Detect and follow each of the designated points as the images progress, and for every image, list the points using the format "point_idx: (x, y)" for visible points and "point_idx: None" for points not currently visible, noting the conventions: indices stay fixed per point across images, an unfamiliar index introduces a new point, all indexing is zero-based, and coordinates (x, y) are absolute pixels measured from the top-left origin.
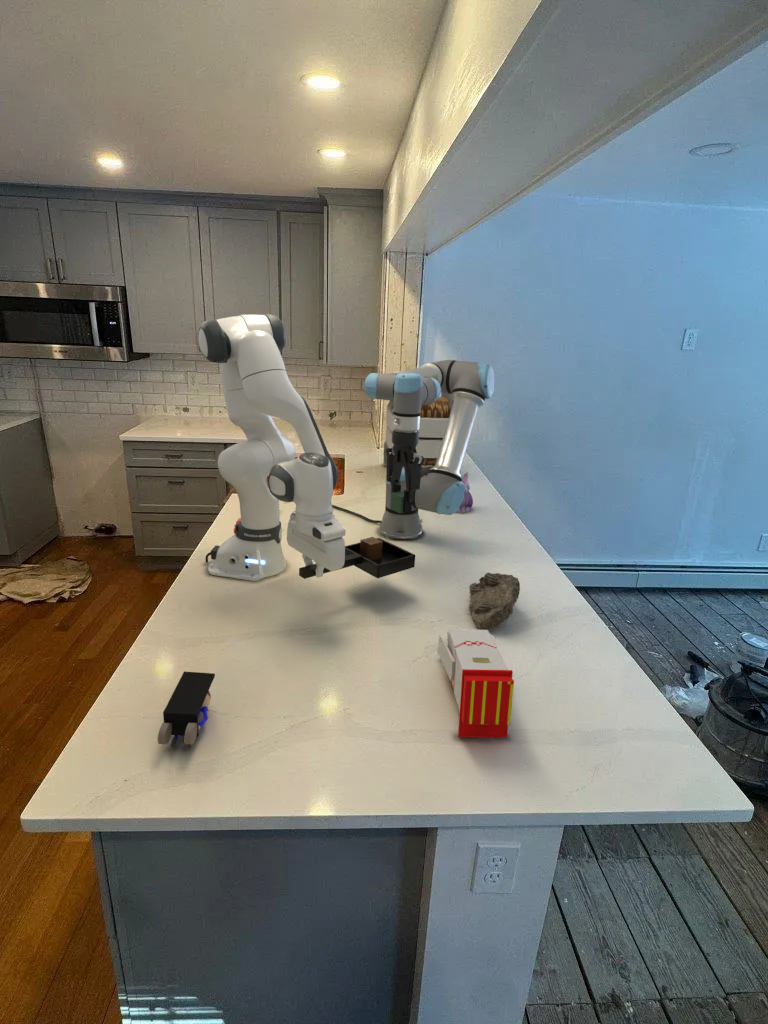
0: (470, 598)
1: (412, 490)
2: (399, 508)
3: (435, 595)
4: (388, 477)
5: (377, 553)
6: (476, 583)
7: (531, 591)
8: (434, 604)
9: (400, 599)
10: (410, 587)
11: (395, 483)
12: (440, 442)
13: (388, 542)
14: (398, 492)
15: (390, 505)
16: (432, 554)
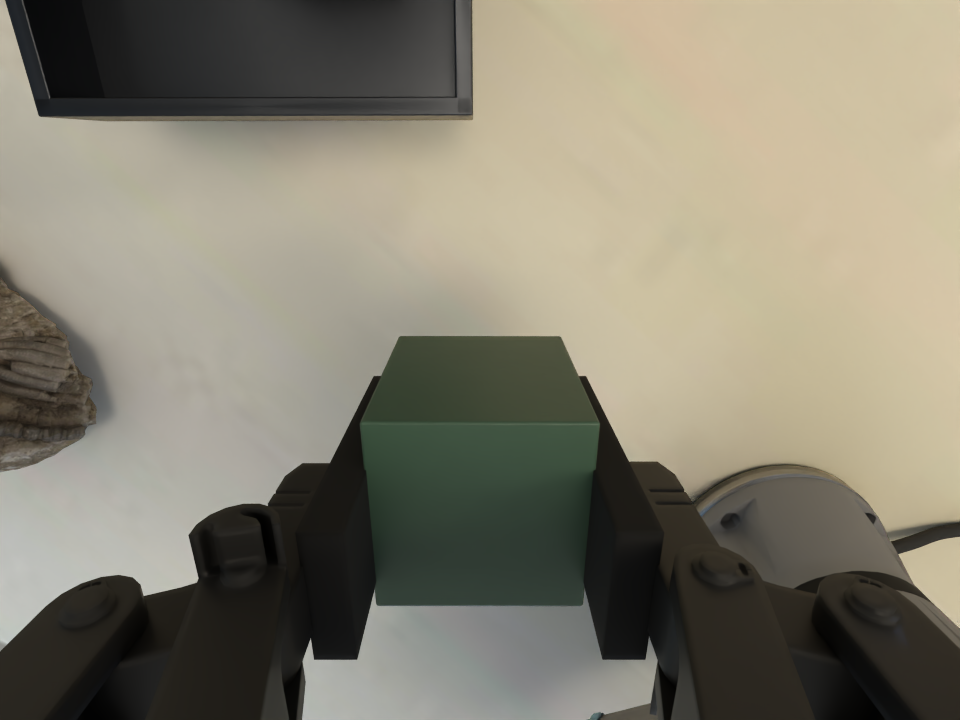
0: (42, 316)
1: (104, 580)
2: (408, 354)
3: (179, 238)
4: (886, 651)
5: None
6: (30, 382)
7: (52, 556)
8: (107, 171)
9: None
10: (298, 197)
11: (666, 618)
12: None
13: (348, 110)
14: (551, 521)
15: (565, 350)
16: None
